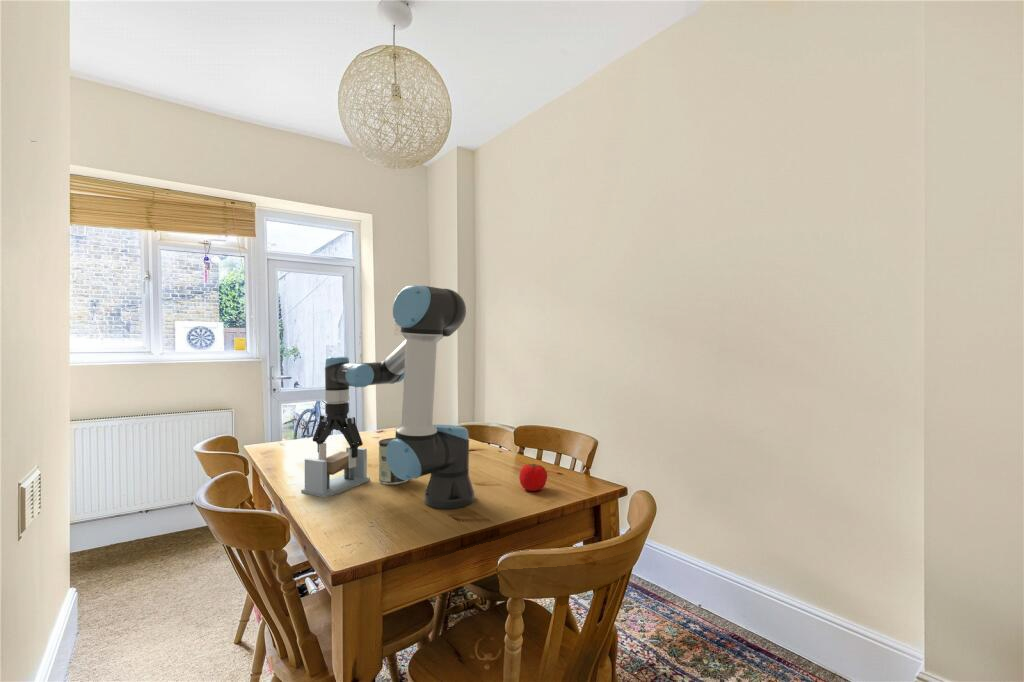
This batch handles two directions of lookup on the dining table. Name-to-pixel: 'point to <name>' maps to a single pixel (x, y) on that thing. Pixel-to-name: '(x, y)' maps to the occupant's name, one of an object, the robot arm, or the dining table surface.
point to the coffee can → (386, 466)
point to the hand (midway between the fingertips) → (337, 465)
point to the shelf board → (337, 462)
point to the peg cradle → (325, 487)
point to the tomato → (533, 477)
